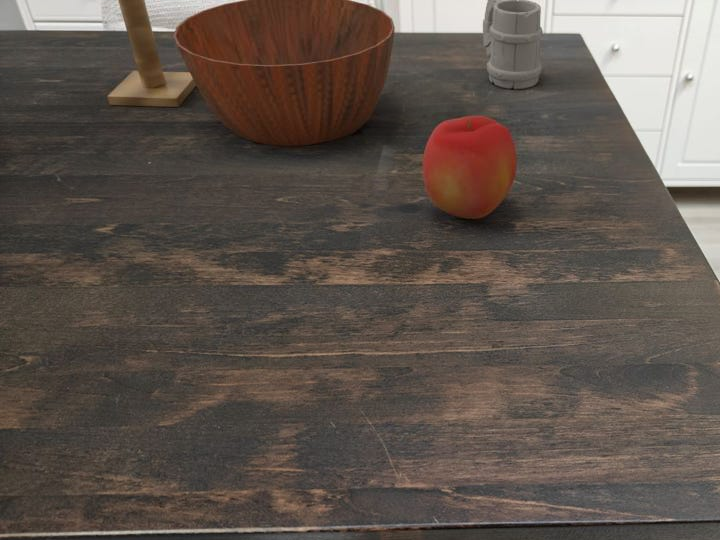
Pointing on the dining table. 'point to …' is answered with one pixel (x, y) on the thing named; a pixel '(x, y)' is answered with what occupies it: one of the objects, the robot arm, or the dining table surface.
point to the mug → (513, 42)
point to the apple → (469, 166)
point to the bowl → (289, 66)
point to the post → (148, 66)
